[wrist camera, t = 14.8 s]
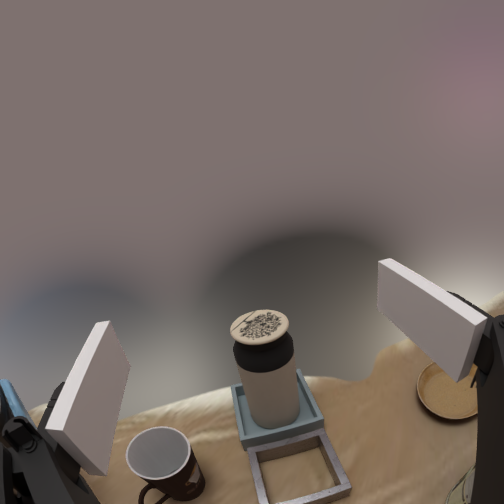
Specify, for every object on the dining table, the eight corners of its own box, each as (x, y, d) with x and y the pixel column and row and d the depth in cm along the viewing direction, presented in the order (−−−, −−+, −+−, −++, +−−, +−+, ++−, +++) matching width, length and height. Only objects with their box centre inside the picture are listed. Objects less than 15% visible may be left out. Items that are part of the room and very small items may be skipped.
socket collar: (265, 519, 23) (261, 513, 22) (251, 458, 34) (246, 448, 32) (349, 495, 24) (351, 487, 23) (323, 439, 35) (323, 427, 34)
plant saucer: (459, 357, 42) (462, 347, 41) (501, 401, 28) (506, 391, 27) (400, 384, 41) (402, 374, 40) (439, 442, 27) (444, 433, 26)
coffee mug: (184, 453, 35) (161, 416, 32) (224, 480, 30) (205, 448, 27) (132, 493, 27) (97, 462, 24) (169, 529, 22) (134, 505, 18)
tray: (244, 450, 35) (240, 440, 34) (234, 397, 47) (230, 385, 46) (323, 430, 37) (323, 418, 35) (300, 381, 48) (299, 368, 47)
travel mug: (309, 405, 41) (302, 317, 35) (278, 437, 36) (261, 351, 30) (272, 388, 47) (257, 303, 41) (241, 415, 42) (215, 330, 36)
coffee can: (460, 465, 22) (502, 405, 17) (513, 476, 14) (566, 416, 10) (430, 525, 15) (479, 486, 11) (489, 537, 8) (554, 494, 3)
